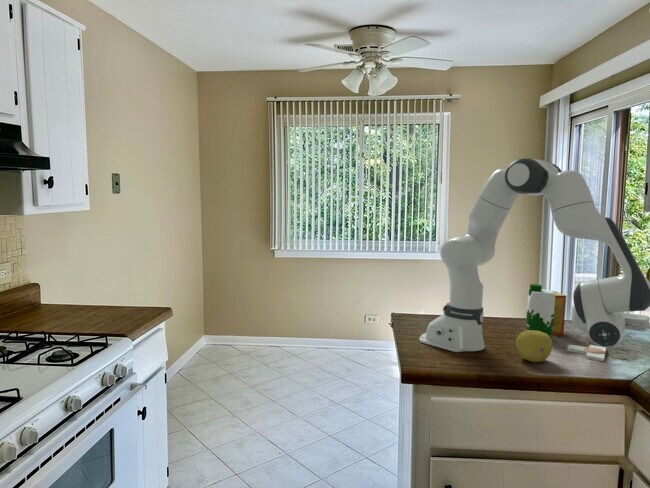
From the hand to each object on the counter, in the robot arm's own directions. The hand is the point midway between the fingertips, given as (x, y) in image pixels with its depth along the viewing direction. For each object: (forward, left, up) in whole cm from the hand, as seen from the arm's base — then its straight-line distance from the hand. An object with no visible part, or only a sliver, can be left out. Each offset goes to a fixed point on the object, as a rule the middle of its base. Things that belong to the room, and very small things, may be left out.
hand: (609, 313), depth 143 cm
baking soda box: (-21, +30, -17) cm, 40 cm away
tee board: (-6, +10, -17) cm, 20 cm away
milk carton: (-23, +19, -17) cm, 34 cm away
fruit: (-20, -10, -17) cm, 28 cm away
